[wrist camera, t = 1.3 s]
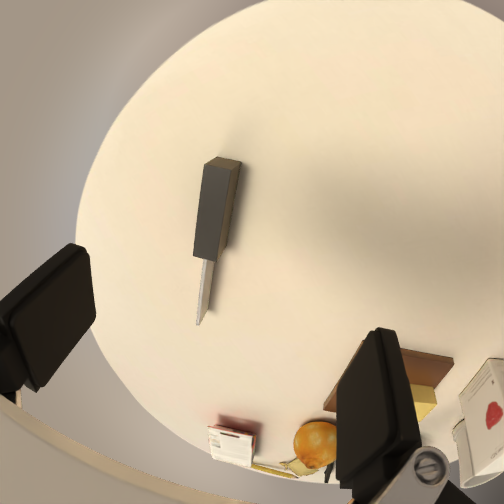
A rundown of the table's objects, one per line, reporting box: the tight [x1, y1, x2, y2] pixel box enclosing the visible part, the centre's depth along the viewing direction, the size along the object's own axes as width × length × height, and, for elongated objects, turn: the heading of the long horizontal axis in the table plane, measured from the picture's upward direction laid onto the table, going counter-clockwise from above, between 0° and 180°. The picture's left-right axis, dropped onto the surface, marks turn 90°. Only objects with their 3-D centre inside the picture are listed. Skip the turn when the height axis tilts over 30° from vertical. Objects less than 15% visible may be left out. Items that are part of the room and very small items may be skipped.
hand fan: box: [279, 458, 321, 476], centre depth 52 cm, size 12×9×2 cm
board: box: [323, 340, 454, 412], centre depth 37 cm, size 14×14×1 cm
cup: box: [452, 420, 503, 488], centre depth 34 cm, size 10×9×12 cm
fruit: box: [294, 422, 336, 469], centre depth 42 cm, size 8×8×8 cm
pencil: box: [251, 464, 298, 478], centre depth 54 cm, size 1×14×1 cm
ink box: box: [208, 425, 256, 467], centre depth 49 cm, size 4×8×15 cm
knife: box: [193, 157, 241, 326], centre depth 31 cm, size 18×2×4 cm, turn 169°
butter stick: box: [410, 384, 437, 422], centre depth 35 cm, size 4×7×3 cm, turn 79°
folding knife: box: [324, 461, 334, 483], centre depth 49 cm, size 10×1×3 cm, turn 5°
